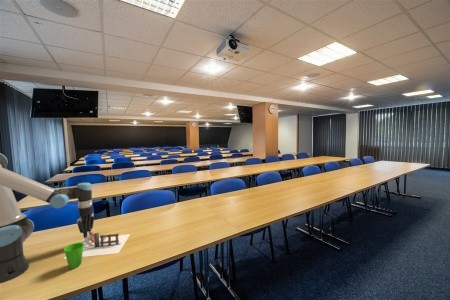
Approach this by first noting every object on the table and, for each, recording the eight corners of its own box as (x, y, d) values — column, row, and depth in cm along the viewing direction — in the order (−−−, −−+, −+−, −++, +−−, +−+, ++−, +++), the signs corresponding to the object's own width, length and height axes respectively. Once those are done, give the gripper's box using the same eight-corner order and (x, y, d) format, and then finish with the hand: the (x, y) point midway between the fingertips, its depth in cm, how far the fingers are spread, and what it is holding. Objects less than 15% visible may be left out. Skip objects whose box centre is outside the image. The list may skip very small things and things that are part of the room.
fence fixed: (118, 245, 127) (117, 232, 126) (94, 247, 124) (93, 234, 124) (119, 243, 129) (119, 230, 129) (96, 245, 127) (95, 232, 126)
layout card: (118, 253, 118) (118, 252, 118) (62, 259, 112) (62, 258, 112) (130, 233, 142) (130, 233, 142) (85, 238, 137) (85, 237, 137)
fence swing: (94, 245, 126) (93, 233, 126) (87, 240, 133) (86, 229, 133) (97, 244, 128) (96, 232, 127) (90, 238, 135) (89, 228, 134)
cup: (89, 260, 111) (88, 242, 111) (77, 271, 102) (76, 251, 102) (73, 261, 111) (72, 242, 110) (60, 271, 102) (58, 251, 101)
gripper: (81, 210, 120) (83, 247, 121) (98, 203, 133) (99, 237, 134) (71, 209, 122) (73, 246, 123) (89, 203, 134) (90, 236, 135)
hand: (87, 241), depth 128 cm, fingers closed
